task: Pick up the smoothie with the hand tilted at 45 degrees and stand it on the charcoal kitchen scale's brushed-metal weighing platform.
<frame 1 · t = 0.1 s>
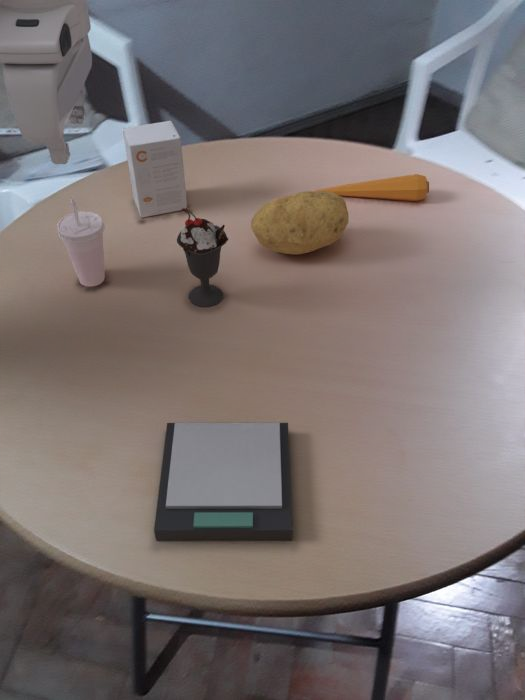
hand: (70, 140, 79), 25 cm above the table, tool pointing down, fingers open, 8 cm apart
scale: (226, 483, 75), on the table
smoothie: (92, 279, 101), on the table
small box: (160, 205, 115), on the table
carrot: (367, 196, 117), on the table
sundae: (205, 297, 98), on the table
potato: (299, 247, 106), on the table
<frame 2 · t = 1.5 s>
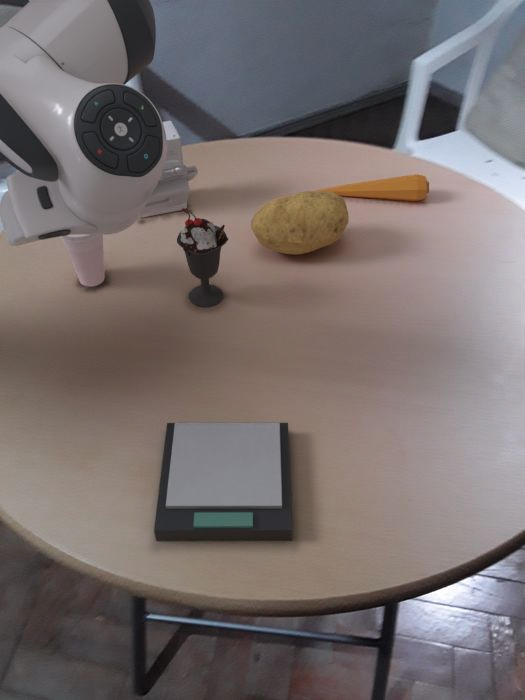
hand: (93, 220, 80), 18 cm above the table, tool tilted 45°, fingers open, 8 cm apart
nothing on the table moved.
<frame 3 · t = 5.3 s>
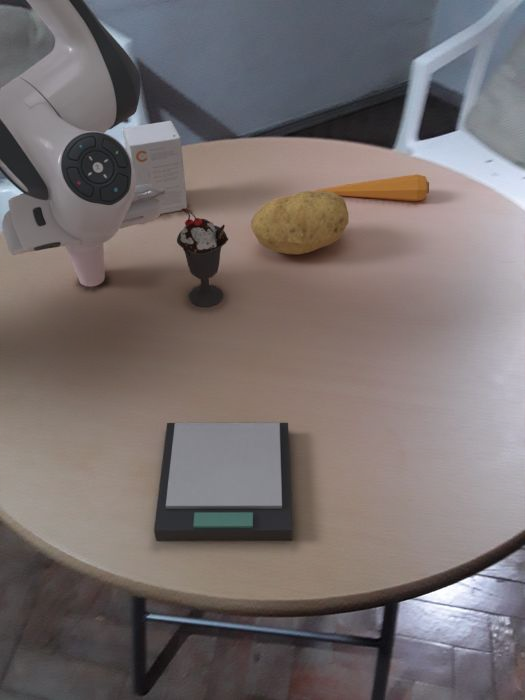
hand: (81, 232, 95), 8 cm above the table, tool tilted 45°, fingers closed on smoothie, 6 cm apart
smoothie: (92, 279, 101), on the table, touching gripper
everything else where it was.
when the fingers open (10 cm above the table, at t = 16.7 s): smoothie stays where it is, resting on scale.
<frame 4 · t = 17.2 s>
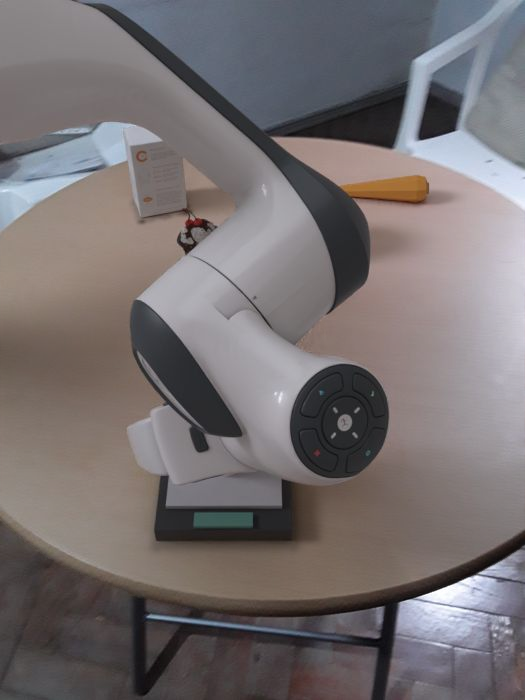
hand: (220, 408, 68), 11 cm above the table, tool tilted 45°, fingers open, 8 cm apart
smoothie: (225, 463, 74), point 2 cm above the table, touching scale
everything else where it was.
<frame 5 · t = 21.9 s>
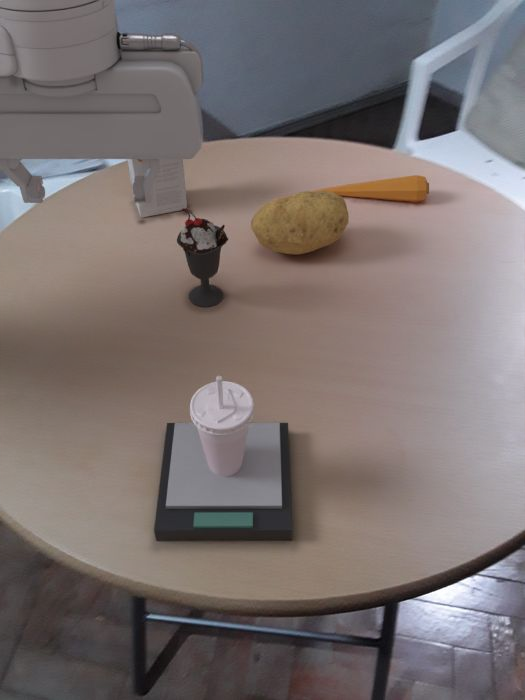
hand: (90, 199, 59), 31 cm above the table, tool pointing down, fingers open, 8 cm apart
nothing on the table moved.
at the end: smoothie inside the target area on the scale (0.0 cm from its centre), point 2.4 cm above the scale's base; smoothie tilted 0°; smoothie touching scale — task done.
